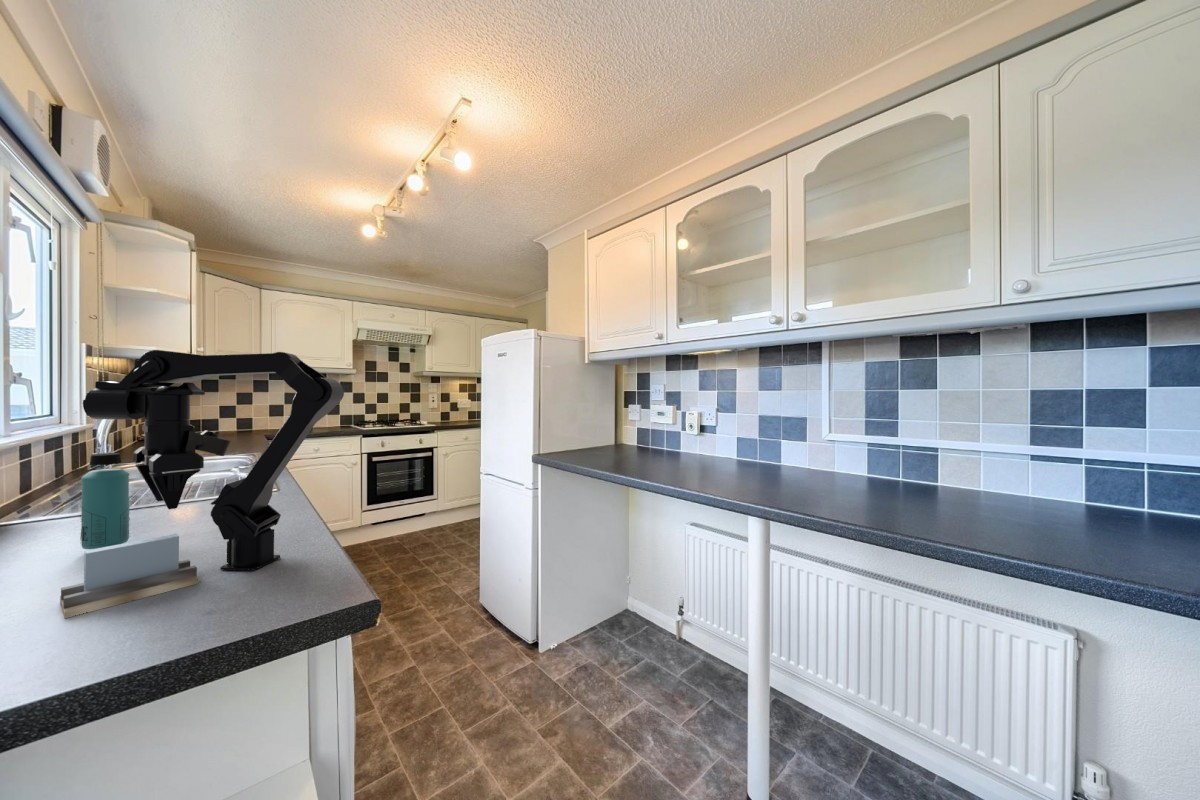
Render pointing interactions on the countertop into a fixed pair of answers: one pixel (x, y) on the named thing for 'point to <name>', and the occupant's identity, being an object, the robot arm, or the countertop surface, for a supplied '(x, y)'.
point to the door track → (125, 590)
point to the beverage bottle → (105, 504)
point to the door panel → (130, 561)
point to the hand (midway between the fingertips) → (166, 504)
